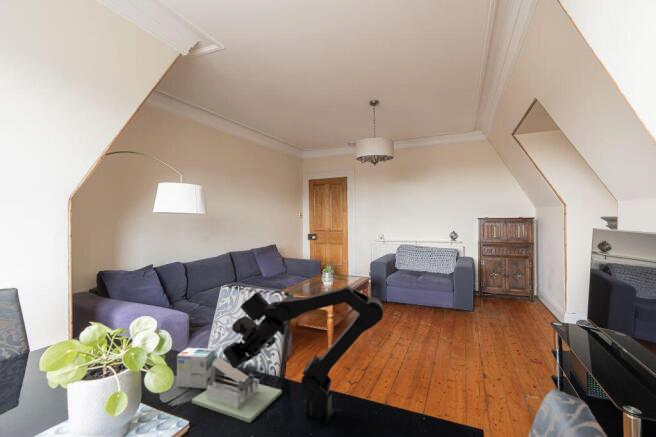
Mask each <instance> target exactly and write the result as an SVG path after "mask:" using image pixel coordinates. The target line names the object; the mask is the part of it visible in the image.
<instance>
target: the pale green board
mask: <svg viewBox="0 0 656 437" xmlns="http://www.w3.org/2000/svg"><path fill="white" fill-rule="evenodd" d="M282 394H283V390H282V389H280V388H276V387H272V386H268V385H264V384H260V383H259V392H258V393H257V394H256V395H255V396H253V397H252V398H251V399H250V400H249V401H247V402H246V403H245V404H244V405H242V406H241V407H240V408H239V409H235V408H232V407H229V406H226V405H223V404H220V403H217V402H214V401H211V400H208V399H207V389H205V391H202V392H201V393H200V394H197V395H196V396H195V397H193V398H192V399H191V403H192V404H194V405H198V406H200V407H202V408H205V409H209V410H212V411H215V412H217V413H221V414H223V415H226V416H229V417H233V418H235V419H238V420H241V421H244V422H246V423H251V422H253V421H254V420H255V419H256V418H257V417H258V416H259V415H260V414H261V413H262V412H263V411H264V410H265V409H266V408H267V407H268V406H270V404H272V402H274V401H275V400H277V398H278V397H279V396H280V395H282Z"/></svg>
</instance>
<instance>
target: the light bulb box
mask: <svg viewBox="0 0 656 437" xmlns="http://www.w3.org/2000/svg"><path fill="white" fill-rule="evenodd" d="M215 360H216V348H199V347H198V348H196V347H187V348H185V349H184V350H182V351H181V352H179V353H178V354H177V355H176V387H178V388H190V387H191V388H193V389H205V390H207V386H208V385H211V367H213V365H212V363H213V361H215Z"/></svg>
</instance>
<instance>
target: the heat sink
mask: <svg viewBox="0 0 656 437" xmlns="http://www.w3.org/2000/svg"><path fill="white" fill-rule="evenodd" d="M248 377H251V379H252V382H251V383H250V384H248V385H247V386H245V387H244V381H241V380H240V381H239V383H238V382H236V381H235V380H233V379H232V378H231V377H229V376H228V375H226V374H225V373H223V372H222V371H220V370H219V369H217V368H216V367H215V366H213V367H211V384H210V385H208V386H207V388H206V390H207V399H208V400H211V401H214V402H217V403H220V404H223V405H226V406H229V407H232V408H235V409H239V408H240V407H241V406H242V405H244V404H245V403H246V402H247V401H249V400H250V399H251V398H252V397H253V396H255V395H256V394H257V393H258V392H259V384H260V379H258V378H255V374H254V373H249V374H248Z"/></svg>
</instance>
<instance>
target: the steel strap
mask: <svg viewBox="0 0 656 437" xmlns="http://www.w3.org/2000/svg"><path fill="white" fill-rule="evenodd" d="M212 365H213V366H215V367H216V368H217V369H219V370H220V371H222V372H223V373H224V375H228V376H229V377H231V378H232V379H233V380H235V381H236V382H238V383H239V381H240V380H241V381H244V387H245V386H247V385H248V384H250V383H251V382H252V379H251V377H249V375H247V374H245V373H243V372H242V371H241V370H239V369H238V368H236V369H235V368H233V367H232V366H231V364H230V363H229V362H228V361H227V360H224V359H223V358H221V357H219V358H217V359H216V358H215V361H213V363H212Z"/></svg>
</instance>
